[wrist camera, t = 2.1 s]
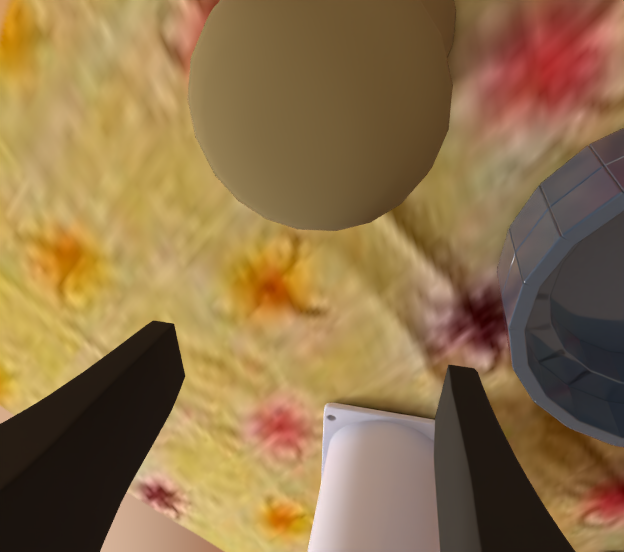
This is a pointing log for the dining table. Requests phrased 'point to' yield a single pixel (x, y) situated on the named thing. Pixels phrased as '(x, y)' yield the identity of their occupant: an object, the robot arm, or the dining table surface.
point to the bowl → (571, 292)
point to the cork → (322, 104)
